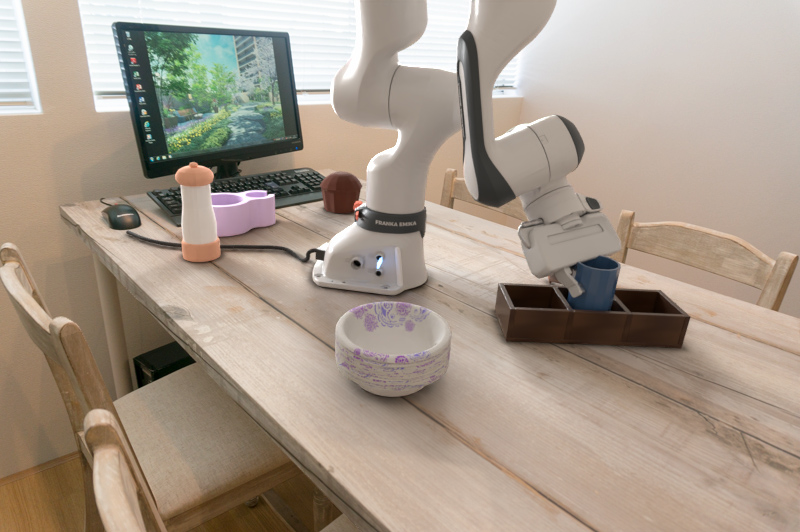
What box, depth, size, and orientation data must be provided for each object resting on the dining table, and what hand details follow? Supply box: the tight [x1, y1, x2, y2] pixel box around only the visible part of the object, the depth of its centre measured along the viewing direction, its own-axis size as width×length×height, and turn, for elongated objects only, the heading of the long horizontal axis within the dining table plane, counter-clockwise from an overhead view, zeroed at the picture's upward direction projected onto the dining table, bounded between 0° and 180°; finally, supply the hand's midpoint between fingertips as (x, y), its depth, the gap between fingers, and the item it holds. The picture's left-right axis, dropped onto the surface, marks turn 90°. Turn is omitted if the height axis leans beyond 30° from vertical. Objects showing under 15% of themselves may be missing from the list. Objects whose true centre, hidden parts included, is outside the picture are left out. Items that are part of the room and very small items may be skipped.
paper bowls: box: [334, 300, 452, 398], centre depth 71 cm, size 15×15×8 cm
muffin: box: [319, 170, 363, 215], centre depth 144 cm, size 12×11×10 cm
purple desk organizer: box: [211, 189, 277, 238], centre depth 126 cm, size 20×12×7 cm, turn 132°
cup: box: [567, 255, 622, 311], centre depth 85 cm, size 7×7×10 cm
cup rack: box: [494, 282, 691, 349], centre depth 87 cm, size 28×10×6 cm, turn 91°
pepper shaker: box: [174, 161, 221, 263], centre depth 105 cm, size 7×7×19 cm
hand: (595, 289), depth 85 cm, fingers closed on cup, 7 cm apart
